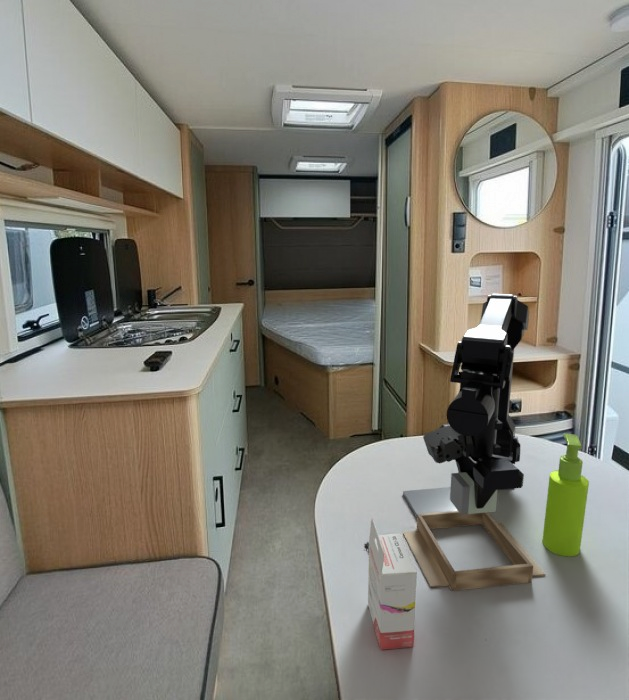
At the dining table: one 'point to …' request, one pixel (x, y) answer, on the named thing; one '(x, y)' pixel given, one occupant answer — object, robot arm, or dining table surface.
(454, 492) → the box
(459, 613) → the dining table surface
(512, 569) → the wooden frame
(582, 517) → the soap dispenser
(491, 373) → the robot arm
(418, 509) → the coaster
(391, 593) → the ink cartridge box
